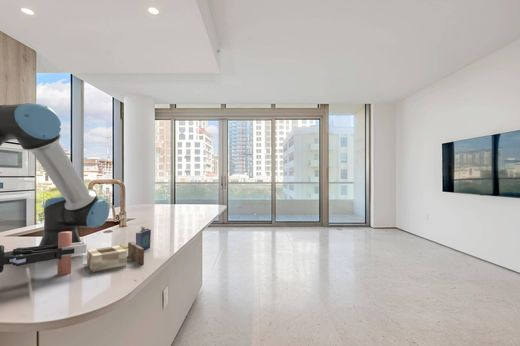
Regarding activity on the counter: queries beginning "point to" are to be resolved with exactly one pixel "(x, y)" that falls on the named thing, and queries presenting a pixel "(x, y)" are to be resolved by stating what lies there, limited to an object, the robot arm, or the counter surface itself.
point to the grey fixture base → (132, 259)
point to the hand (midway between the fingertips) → (84, 247)
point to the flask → (143, 238)
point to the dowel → (65, 261)
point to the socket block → (106, 258)
